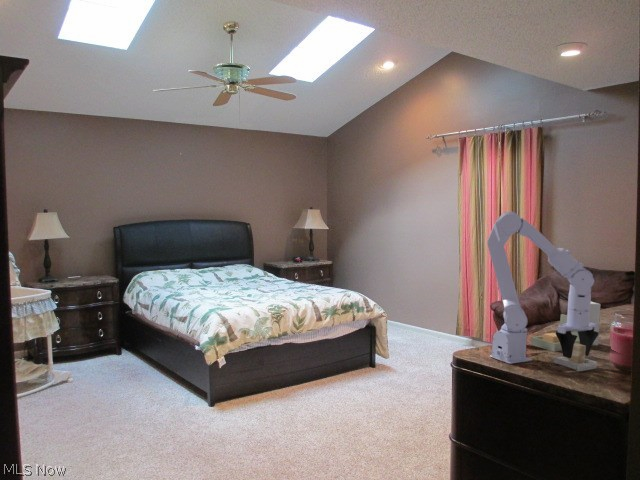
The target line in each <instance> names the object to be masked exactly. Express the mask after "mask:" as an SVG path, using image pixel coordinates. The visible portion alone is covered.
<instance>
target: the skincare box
mask: <svg viewBox="0 0 640 480" xmlns="http://www.w3.org/2000/svg"><path fill="white" fill-rule="evenodd" d="M600 317H601V303H599V302H593V301H592V300H591V303H590V318H589V323H595V324H597V330H594V331H596V332H599V334H598V336H597V338H596V339H595V341H594V342H593V344H592V346H599V339H600V338H599V335H600Z"/></svg>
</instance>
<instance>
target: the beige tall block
mask: <svg viewBox="0 0 640 480" xmlns="http://www.w3.org/2000/svg"><path fill="white" fill-rule="evenodd" d="M585 351H586V346H585V345H581V344H578V343H574V346H573V352H572V356H571V358H569V361H572V362H575V363H580V362H585V358H586V355H585Z"/></svg>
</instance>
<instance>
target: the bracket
mask: <svg viewBox="0 0 640 480" xmlns="http://www.w3.org/2000/svg"><path fill="white" fill-rule="evenodd" d="M553 361H554V363H555V364H558V365H560V366H563V367H566V368H570V369H572V370H573V371H574V372H583V371H590V370H595V369H597V366H598V362H597V361H596V360H592V359H589V358H586V357H585V362H580V363H575V362H572V361H569V358H566V357H563V355H562V356H557V357H555V356H554V360H553Z"/></svg>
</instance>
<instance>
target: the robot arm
mask: <svg viewBox="0 0 640 480" xmlns="http://www.w3.org/2000/svg"><path fill="white" fill-rule="evenodd" d="M515 233H516V235H520V236H522V237H526V238H527V239H529V241H531V242H532V243H533V244H535V246H537V247H538V248H539V250H541V251H543V253H545V254H546V255H547V263H549V264H550V265H551V266H552V267H553V268H554V269H555V270H556V271H557V272H558V273H560V275H561V276H562V277H564V278H567V281H568V283H569V292H568V296H567V297H568V298H567V314H566V315H567V323H565V324H563V325H560V324H559V325H557V330H556V331H555V333H556V335H557V337H558V339H559V341H560V344H561V348H562V351H561V352H562V353H561V354H562V356H563V357H566V358H571V356H572V352H573V346H574V343H575V340H576V338H577V336H576V335H572V333H571V332H578V335H579V340H580V344H581V345H585V346H586V351H585V357H587V356H589V355H590V352H591V349H592V347H593V345H592V344H593V342H594V341H595V339H596V338H597V336H598V334H599V335H600V331H599V332H596V331H594V330H597V324H595V323H589V318H590V303H591V301H592V294H591V293H592V287H593V285H594V284H595V279H594V274H593V273H592V272H591V271H589V270H588V269H586V267H584V266H585V264H584V263H583V262H579V261H578V260H577V259H576V258H575V257H574V256H573V255H571V254H572V252H571V251H570V250H569V249H565V248H563V247H556V246H554V244H552V242H550V240H549V239H547V237H545V235H543V234H542V233H541V232H540V230H538V229H537V228H536V227H535V226H534V225H533V224H532V223H530V222H529V221H527V220H526V219H524V217H523V218H522V217H520V215H519V214H518V213H517V212H514V211H507V212H504V213H502V214H500V215H499V217H498V218H497V219H496V220H495V222H494V224H493V226H492V229H491V231H490V234H489V236H488V239H487V242H486V243H487V248H488V251H489V255H490V258H491V263H492V267H493V270H494V275H495V278H496V282H497V285H498V289H499V293H500V297H501V300H502V304H503V313H502V317H503V320H504V323H503V325H501V328H500V330H498V331H496V332H494V334H493V336H492V347H491V354H490V355H489V357H490V358H492V359H496V360H498V361H501V362H503V363H507V364H510V365H512V364H519V363H525V362H532V361H533V359H532V358H529V357H527V356H526V354H527V338H528V328H526V327H527V325H528V317H527V315H526V312H525V310H524V309H523V308H522V307H521V304H520V301H519V297H518V295H517V290H516V287H515V283H514V279H513V278H514V277H513V276H512V271H511V267H510V263H509V260H508V256H507V253H506V249H505V245H506V244H507V242H508V241H509V239H510V237H511V236H513V235H514V234H515Z"/></svg>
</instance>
